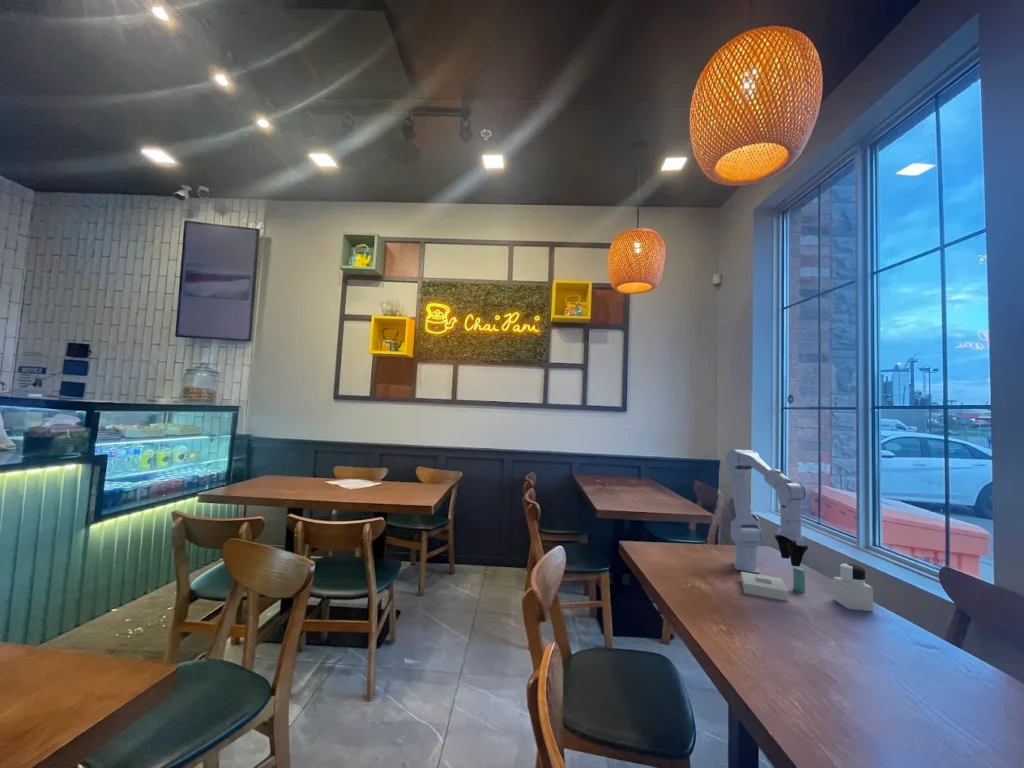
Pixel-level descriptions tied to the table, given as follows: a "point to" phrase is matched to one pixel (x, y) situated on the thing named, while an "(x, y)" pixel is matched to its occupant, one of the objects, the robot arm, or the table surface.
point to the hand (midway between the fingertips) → (790, 561)
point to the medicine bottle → (852, 588)
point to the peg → (799, 580)
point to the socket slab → (764, 586)
